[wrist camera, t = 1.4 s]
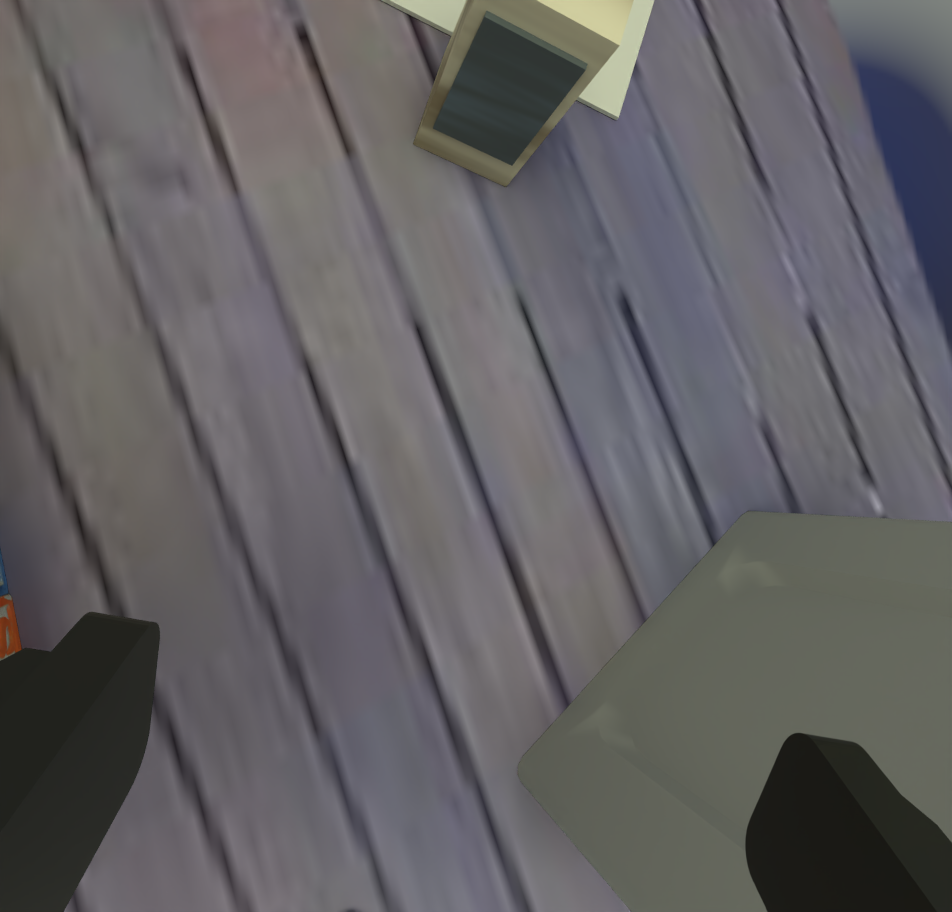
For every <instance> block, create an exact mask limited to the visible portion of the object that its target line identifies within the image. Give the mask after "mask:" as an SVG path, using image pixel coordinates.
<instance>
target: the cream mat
mask: <svg viewBox="0 0 952 912" xmlns="http://www.w3.org/2000/svg"><path fill="white" fill-rule="evenodd" d="M381 1H383V2H385V3H387V4H389V5H391V6H393V7H395V8H397V9H399V10H401V11H403V12H405V13H407V14H409V15H411V16H413V17H415V18H416V19H418V20H420V21H422V22H424V23H426V24H428V25H430V26H432V27H434V28H436V29H438V30H440V31H442V32H444V33H446V34H448V35H450V36H452V34H453V31H454V29H455V26H456V24H457V21H458V19H459V17H460V14H461V12H462V9H463V7H464V4H465V2H466V0H381ZM653 3H654V0H634V1H633V4H632V8H631V11H630V14H629V17H628V20H627V24H626V27H625V30H624V33H623V37H622V40H621V43H620V46H619V47H618V48H617V50H616V51H615V52H614V53H613V55H612V56H611V57H610V58H609V60H608V61H607V62H606V63H605V65H604V66H603V67H602V68H601V69H600V71H599V72H598V73H597V74H596V76H595V77H594V78H593V79H592V81H591V82H590V83H589V84H588V86H587V87H586V88H585V89H584V91H583V92H582V93H581V94H580V96H579V97H578V98H577V99H576V100H577V101H579V102H581V103H583V104H585V105H587V106H589V107H591V108H593V109H595V110H597V111H599V112H601V113H603V114H605V115H607V116H608V117H610V118H612V119H614V120H617V119H618V118H619V114H620V111H621V108H622V105H623V101H624V98H625V95H626V91H627V88H628V85H629V82H630V78H631V75H632V72H633V69H634V65H635V62H636V59H637V55H638V52H639V49H640V46H641V42H642V39H643V36H644V32H645V29H646V26H647V23H648V19H649V16H650V13H651V10H652V6H653Z"/></svg>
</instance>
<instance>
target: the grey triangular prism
mask: <svg viewBox="0 0 952 912" xmlns="http://www.w3.org/2000/svg"><path fill="white" fill-rule="evenodd" d="M794 733H804V734H810V735H816V736H822V737H828V738H834V739H840V740H846V741H852V742H855V743H857V744H859V745H860V746H861V747H863V749H864V750H865V751H866V752H867V753H868V754H869V755H870V757H871V758H872V759H873V760H874V762H875V763H876V764H877V765H878V767H879V768H880V769H881V770H882V772H883V773H884V774H885V775H886V776H887V778H888V779H889V780H890V781H891V783H892V784H893V785H894V786H895V788H896V789H897V790H898V791H899V793H900V794H901V795H902V796H903V797H905V798H906V799H907V800H908V801H909V802H911V803H912V804H913V805H914V806H915V807H917V808H918V809H919V810H920V811H921V812H923V813H924V814H925V815H926V816H927V817H928V818H930V819H931V820H932V821H933V822H934V823H936V824H937V825H938V826H939V828H940V829H941V830H942V831H943V832H944V834H945V835H946V836H947V837H948V838H949V840H950V841H951V842H952V522H943V521H924V520H906V519H888V518H869V517H851V516H833V515H814V514H796V513H778V512H759V511H747V512H746V513H744V514H743V515H741V517H740V518H739V519H738V520H737V521H736V522H735V523H734V524H733V525H732V526H731V528H730V529H729V530H728V531H727V532H726V533H725V534H724V535H723V536H722V537H721V539H720V540H719V541H718V542H717V543H716V544H715V545H714V546H713V547H712V549H711V550H710V551H709V552H708V553H707V554H706V555H705V556H704V557H703V558H702V560H701V561H700V562H699V563H698V564H697V565H696V566H695V567H694V568H693V569H692V571H691V572H690V573H689V574H688V575H687V576H686V577H685V578H684V579H683V580H682V582H681V583H680V584H679V585H678V586H677V587H676V588H675V589H674V590H673V591H672V593H671V594H670V595H669V596H668V597H667V598H666V599H665V600H664V601H663V603H662V604H661V605H660V606H659V607H658V608H657V609H656V610H655V611H654V612H653V614H652V615H651V616H650V617H649V618H648V619H647V620H646V621H645V622H644V623H643V625H642V626H641V627H640V628H639V629H638V630H637V631H636V632H635V633H634V634H633V636H632V637H631V638H630V639H629V640H628V641H627V642H626V643H625V644H624V646H623V647H622V648H621V649H620V650H619V651H618V652H617V653H616V654H615V655H614V657H613V658H612V659H611V660H610V661H609V662H608V663H607V664H606V665H605V666H604V668H603V669H602V670H601V671H600V672H599V673H598V674H597V675H596V676H595V677H594V679H593V680H592V681H591V682H590V683H589V684H588V685H587V686H586V687H585V688H584V690H583V691H582V692H581V693H580V694H579V695H578V696H577V697H576V698H575V700H574V701H573V702H572V703H571V704H570V705H569V706H568V707H567V708H566V709H565V711H564V712H563V713H562V714H561V715H560V716H559V717H558V718H557V719H556V720H555V722H554V723H553V724H552V725H551V726H550V727H549V728H548V729H547V730H546V731H545V733H544V734H543V735H542V736H541V737H540V738H539V739H538V740H537V741H536V743H535V744H534V745H533V746H532V747H531V748H530V749H529V750H528V751H527V752H526V754H525V755H524V756H523V757H522V759H521V761H520V763H519V764H518V777H519V779H520V780H521V782H522V784H523V785H524V786H525V787H526V789H527V790H528V791H529V792H530V793H531V794H532V796H533V797H534V798H535V799H536V800H537V801H538V803H539V804H540V805H541V806H542V807H543V808H544V810H545V811H546V812H547V813H548V814H549V815H550V817H551V818H552V819H553V820H554V821H555V823H556V824H557V825H558V826H559V827H560V828H561V830H562V831H563V832H564V833H565V834H566V835H567V837H568V838H569V839H570V840H571V841H572V842H573V844H574V845H575V846H576V847H577V848H578V849H579V851H580V852H581V853H582V854H583V855H584V857H585V858H586V859H587V860H588V861H589V862H590V864H591V865H592V866H593V867H594V868H595V869H596V871H597V872H598V873H599V874H600V875H601V876H602V878H603V879H604V880H605V881H606V882H607V884H608V885H609V886H610V887H611V888H612V889H613V891H614V892H615V893H616V894H617V895H618V896H619V898H620V899H621V900H622V901H623V902H624V903H625V905H626V906H627V907H628V908H629V909H630V910H631V912H767V910H766V907H765V905H764V903H763V901H762V899H761V897H760V895H759V893H758V891H757V889H756V886H755V884H754V882H753V880H752V878H751V875H750V872H749V869H748V865H747V860H746V851H745V838H746V831H747V826H748V823H749V820H750V818H751V816H752V813H753V811H754V809H755V806H756V804H757V802H758V800H759V797H760V795H761V793H762V790H763V788H764V786H765V783H766V781H767V779H768V777H769V774H770V772H771V770H772V767H773V765H774V763H775V761H776V758H777V756H778V754H779V751H780V749H781V747H782V745H783V743H784V741H785V740H786V739H787V738H788V737H789V736H790V735H792V734H794Z"/></svg>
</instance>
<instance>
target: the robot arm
mask: <svg viewBox="0 0 952 912" xmlns="http://www.w3.org/2000/svg"><path fill="white" fill-rule="evenodd" d="M159 641H160V630H159V626H158V624H157V623H155V622H149V621H143V620H137V619H131V618H125V617H119V616H113V615H107V614H102V613H96V612H89V613H87V614H85V615H84V616H83V617H82V618H81V619H80V620H79V621H78V622H77V624H76V625H75V626H74V627H73V628H72V629H71V630H70V631H69V632H68V633H67V635H66V636H65V637H64V638H63V639H62V640H61V641H60V642H59V643H58V645H57V646H56V647H55V648H54V649H53V650H52V651H51V652H48V651H42V650H36V649H30V648H24V649H22V650H20V651H18V652H16V653H14V654H12V655H10V656H8V657H7V658H5V659H3V660H1V661H0V912H64V910H65V908H66V906H67V904H68V902H69V901H70V899H71V897H72V895H73V893H74V891H75V890H76V888H77V886H78V884H79V882H80V880H81V879H82V877H83V875H84V873H85V871H86V869H87V868H88V866H89V864H90V862H91V860H92V858H93V857H94V855H95V853H96V851H97V849H98V847H99V846H100V844H101V842H102V840H103V838H104V836H105V835H106V833H107V831H108V829H109V827H110V825H111V824H112V822H113V820H114V818H115V816H116V814H117V813H118V811H119V809H120V807H121V805H122V803H123V802H124V800H125V798H126V796H127V794H128V792H129V791H130V789H131V787H132V785H133V783H134V780H135V778H136V776H137V773H138V771H139V768H140V765H141V762H142V759H143V756H144V753H145V749H146V745H147V741H148V736H149V730H150V722H151V713H152V704H153V695H154V686H155V677H156V668H157V659H158V650H159ZM745 851H746V860H747V865H748V869H749V872H750V875H751V878H752V880H753V882H754V884H755V886H756V889H757V891H758V893H759V895H760V897H761V899H762V901H763V903H764V905H765V907H766V910H767V912H952V842H951V841H950V840H949V838H948V837H947V836H946V835H945V834H944V832H943V831H942V830H941V829H940V828H939V826H938V825H937V824H936V823H934V822H933V821H932V820H931V819H930V818H928V817H927V816H926V815H925V814H924V813H923V812H921V811H920V810H919V809H918V808H917V807H915V806H914V805H913V804H912V803H911V802H909V801H908V800H907V799H906V798H905V797H903V796H902V795H901V794H900V793H899V791H898V790H897V789H896V788H895V786H894V785H893V784H892V783H891V781H890V780H889V779H888V778H887V776H886V775H885V774H884V773H883V772H882V770H881V769H880V768H879V767H878V765H877V764H876V763H875V762H874V760H873V759H872V758H871V757H870V755H869V754H868V753H867V752H866V751H865V750H864V749H863V747H861V746H860V745H859V744H857V743H855V742H852V741H846V740H840V739H834V738H828V737H822V736H816V735H810V734H804V733H794V734H792V735H790V736H789V737H788V738H787V739H786V740H785V741H784V743H783V745H782V747H781V749H780V751H779V754H778V756H777V758H776V761H775V763H774V765H773V767H772V770H771V772H770V774H769V777H768V779H767V781H766V783H765V786H764V788H763V790H762V793H761V795H760V797H759V800H758V802H757V804H756V806H755V809H754V811H753V813H752V816H751V818H750V820H749V823H748V826H747V831H746V838H745Z"/></svg>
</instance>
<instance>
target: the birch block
mask: <svg viewBox="0 0 952 912" xmlns="http://www.w3.org/2000/svg"><path fill="white" fill-rule="evenodd" d="M633 1H634V0H466V2H465V4H464V7H463V9H462V12H461V14H460V17H459V19H458V21H457V24H456V26H455V29H454V31H453V34H452V36H451V38H450V41H449V43H448V46H447V48H446V51H445V53H444V56H443V59H442V62H441V64H440V67H439V70H438V73H437V76H436V79H435V82H434V85H433V88H432V91H431V94H430V96H429V99H428V102H427V105H426V108H425V111H424V114H423V117H422V120H421V123H420V126H419V128H418V131H417V134H416V137H415V140H414V143H413V144H414V145H416V146H418V147H420V148H422V149H424V150H427V151H429V152H431V153H433V154H435V155H437V156H440V157H442V158H444V159H446V160H448V161H450V162H453V163H455V164H457V165H459V166H461V167H463V168H466V169H468V170H470V171H472V172H474V173H476V174H479V175H481V176H483V177H485V178H487V179H489V180H492V181H494V182H496V183H498V184H500V185H503V186H505V187H507V185H508V184H509V183H510V182H511V180H512V179H513V178H514V177H515V175H516V174H517V173H518V172H519V170H520V169H521V168H522V167H523V165H524V164H525V163H526V162H527V160H528V159H529V158H530V157H531V155H532V154H533V153H534V152H535V150H536V149H537V148H538V147H539V145H540V144H541V143H542V142H543V140H544V139H545V138H546V137H547V135H548V134H549V133H550V132H551V130H552V129H553V128H554V127H555V126H556V124H557V123H558V122H559V121H560V119H561V118H562V117H563V116H564V114H565V113H566V112H567V111H568V109H569V108H570V107H571V106H572V104H573V103H574V102H575V101H576V99H577V98H578V97H579V96H580V94H581V93H582V92H583V91H584V89H585V88H586V87H587V86H588V84H589V83H590V82H591V81H592V79H593V78H594V77H595V76H596V74H597V73H598V72H599V71H600V69H601V68H602V67H603V66H604V65H605V63H606V62H607V61H608V60H609V58H610V57H611V56H612V55H613V53H614V52H615V51H616V50H617V48H618V47H619V46H620V43H621V40H622V37H623V33H624V30H625V27H626V24H627V20H628V17H629V14H630V11H631V8H632V4H633Z"/></svg>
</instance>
